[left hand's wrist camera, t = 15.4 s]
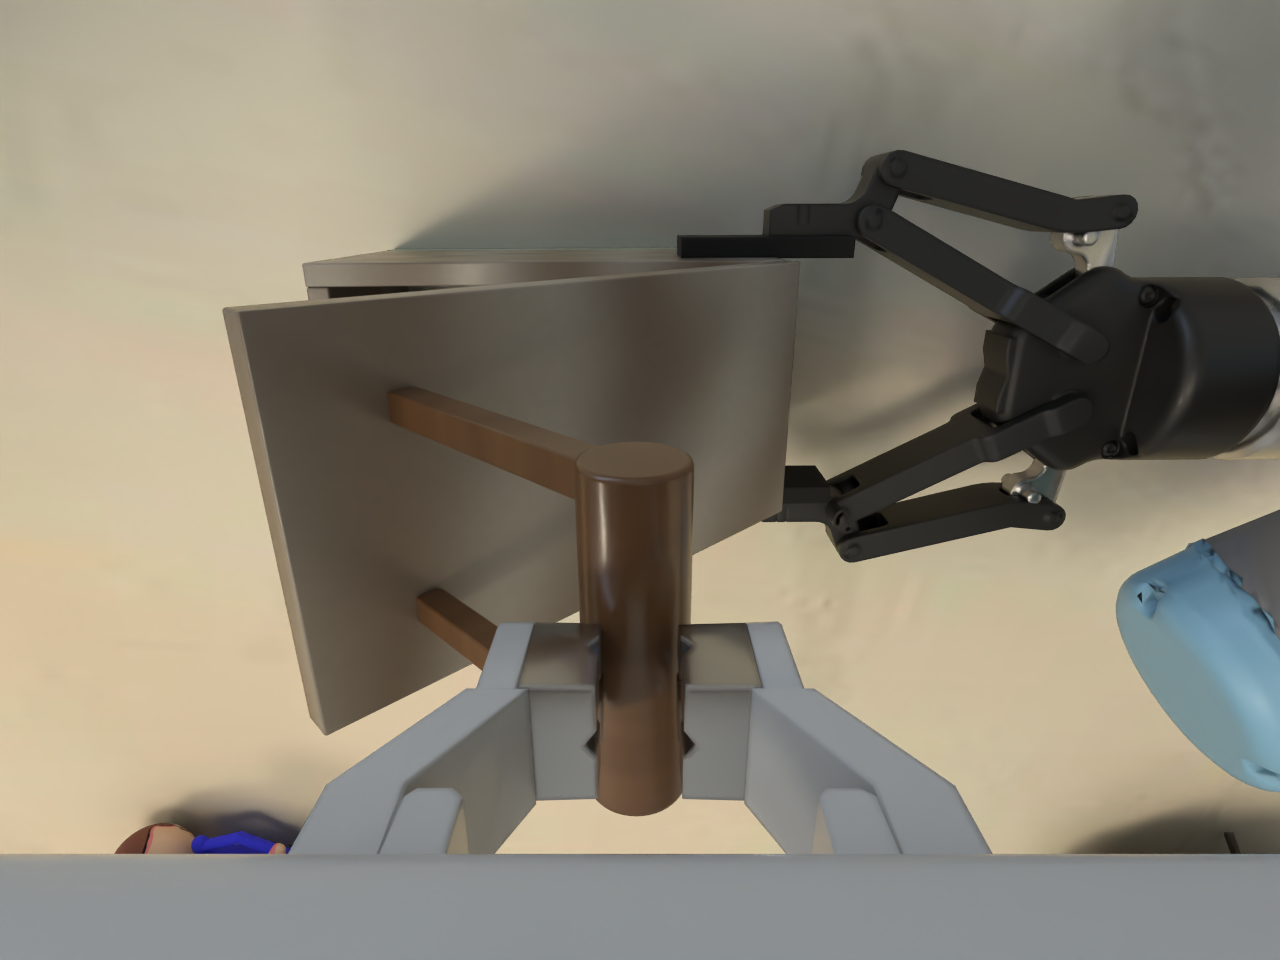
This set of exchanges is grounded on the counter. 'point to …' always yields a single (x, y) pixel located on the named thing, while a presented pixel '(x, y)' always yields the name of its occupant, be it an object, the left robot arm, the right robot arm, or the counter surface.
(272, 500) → the lid
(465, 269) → the chest
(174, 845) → the figurine character
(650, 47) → the counter surface
